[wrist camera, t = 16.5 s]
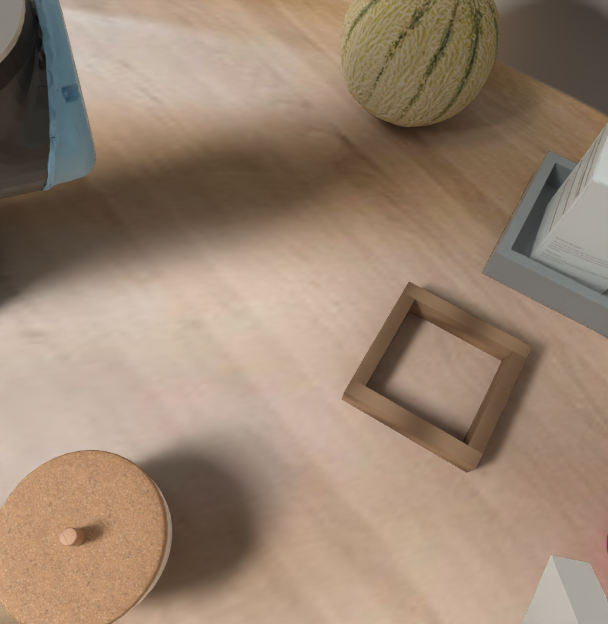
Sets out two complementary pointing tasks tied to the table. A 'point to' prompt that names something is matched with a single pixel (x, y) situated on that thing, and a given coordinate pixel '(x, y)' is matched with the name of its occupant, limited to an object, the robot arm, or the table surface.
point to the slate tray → (532, 275)
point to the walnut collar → (469, 331)
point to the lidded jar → (82, 540)
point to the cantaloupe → (418, 56)
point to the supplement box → (579, 222)
